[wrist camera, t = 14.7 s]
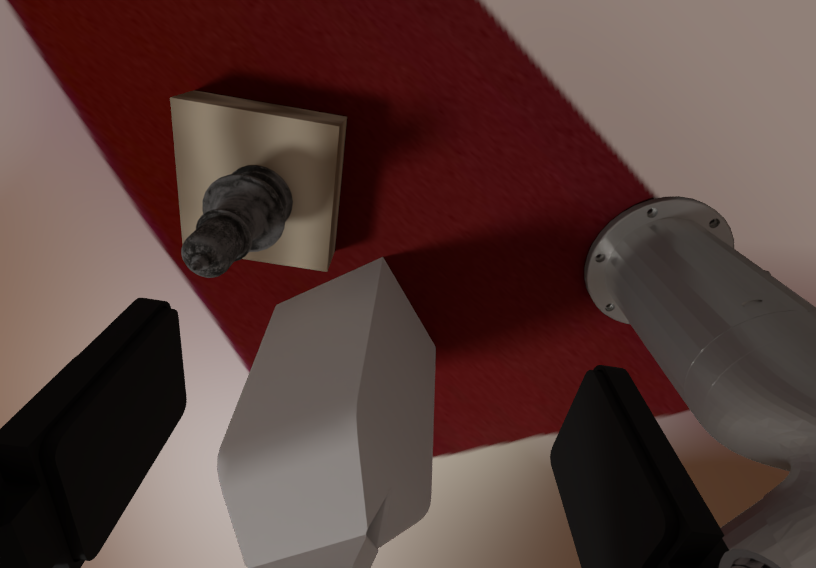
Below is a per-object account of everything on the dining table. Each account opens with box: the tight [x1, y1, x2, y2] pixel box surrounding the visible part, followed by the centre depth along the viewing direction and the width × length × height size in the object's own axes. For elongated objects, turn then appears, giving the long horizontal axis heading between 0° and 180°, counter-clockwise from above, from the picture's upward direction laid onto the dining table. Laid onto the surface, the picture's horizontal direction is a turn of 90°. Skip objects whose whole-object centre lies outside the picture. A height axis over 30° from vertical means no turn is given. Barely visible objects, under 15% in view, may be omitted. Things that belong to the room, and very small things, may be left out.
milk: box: [217, 257, 436, 568], centre depth 35 cm, size 12×12×26 cm
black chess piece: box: [181, 165, 293, 278], centre depth 31 cm, size 6×6×12 cm
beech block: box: [170, 90, 347, 272], centre depth 38 cm, size 12×12×4 cm
